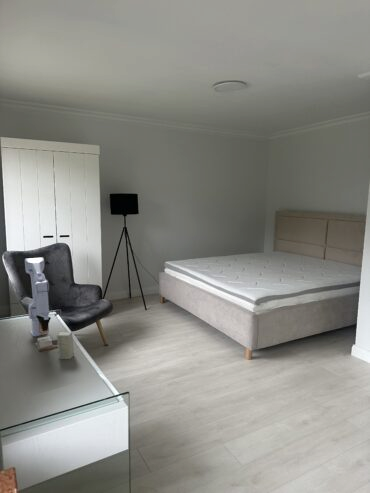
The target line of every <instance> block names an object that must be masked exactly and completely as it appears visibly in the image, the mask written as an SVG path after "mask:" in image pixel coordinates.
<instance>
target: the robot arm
mask: <svg viewBox="0 0 370 493" xmlns="http://www.w3.org/2000/svg"><path fill="white" fill-rule="evenodd" d="M24 267H25V268H24V270H25V273H26V274H29V276H30V282H31V293H32V295H31V296H32V302H31V303H30V304H29V305H28V307H27V308H28V319H30V320H31V330H30V331H29V332H30V333H31V335H32V337H38V336H39V337H40V336H42V335H48V334H49V333H44V334H40V332H39V322H40V323H41V326H42V330H43V331H47V329H48V326H49V324H50V320H51V319H52V318H51V316H49V315H50V309H49V308H50V307H49V290H50V284H49V281H48V279H46V276H45V273H43V272H44V269H45V259H44V257H43V256H42V257H33V258H31V257H30V258H24Z"/></svg>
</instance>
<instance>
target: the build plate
mask: <svg viewBox="0 0 370 493" xmlns="http://www.w3.org/2000/svg"><path fill="white" fill-rule="evenodd" d="M34 345H35V347H36V349H37V351H38V352H43V351H47V350H52V349H56V348H57V349H58V342H57V337H51V336H50V335H47V336H44V337H39V338H37V342H35V343H34Z"/></svg>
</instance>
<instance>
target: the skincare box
mask: <svg viewBox="0 0 370 493" xmlns="http://www.w3.org/2000/svg"><path fill="white" fill-rule="evenodd" d="M56 338H57V342H58V347H57V353H58V359H63V360H65V359H66V360H68V359H69V360H71V359H72V358H73V356H74V355H75V352H74V351H75V350H74V338H73V332H72V331H60V332H59V333H58V334H56Z"/></svg>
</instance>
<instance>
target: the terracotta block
mask: <svg viewBox="0 0 370 493" xmlns="http://www.w3.org/2000/svg"><path fill="white" fill-rule="evenodd" d="M39 332H40V334H44V333H48V334H49V333H50V330H49V325H48V329H47V331H43V330H42V326H41V323H40V322H39ZM44 335H45V334H44Z"/></svg>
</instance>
